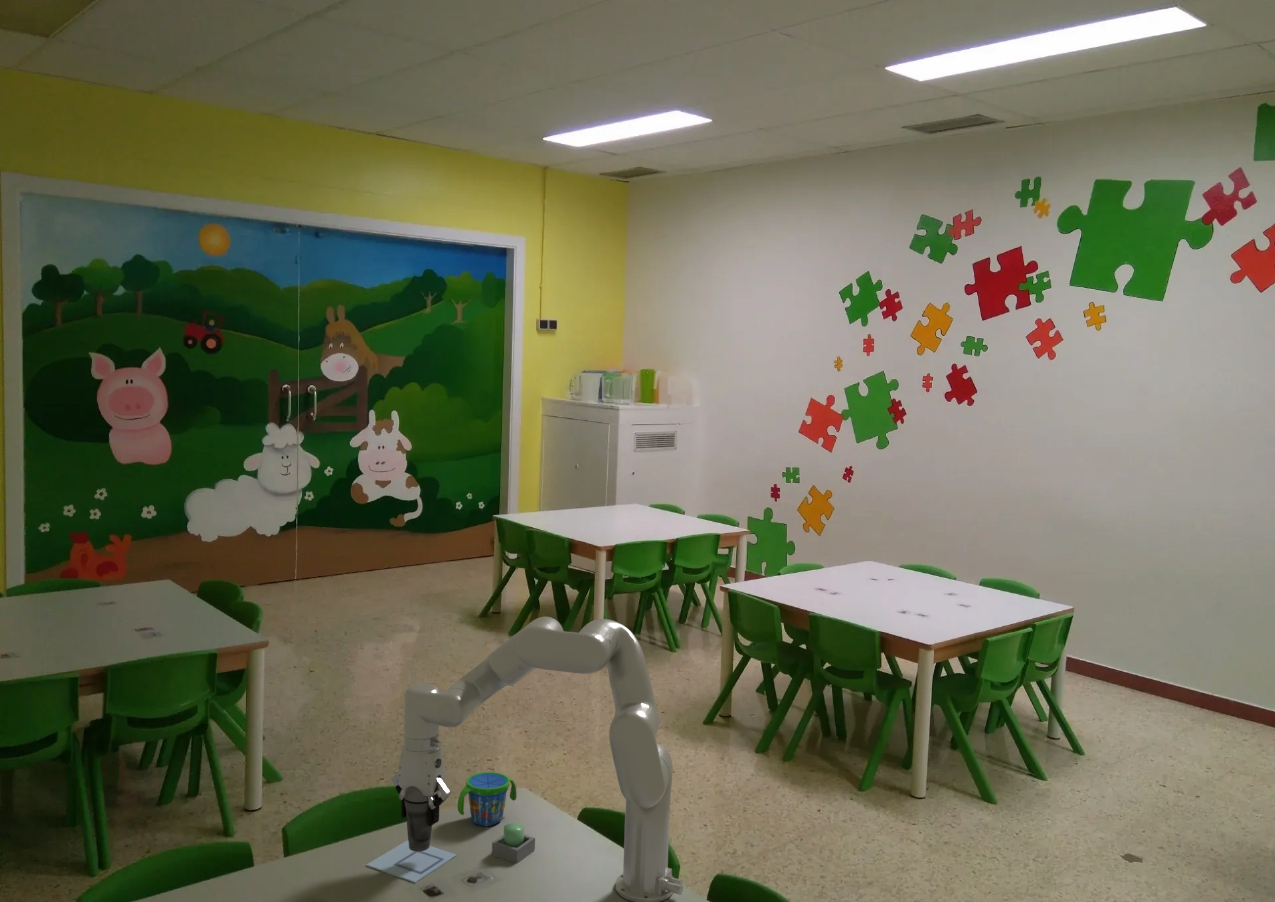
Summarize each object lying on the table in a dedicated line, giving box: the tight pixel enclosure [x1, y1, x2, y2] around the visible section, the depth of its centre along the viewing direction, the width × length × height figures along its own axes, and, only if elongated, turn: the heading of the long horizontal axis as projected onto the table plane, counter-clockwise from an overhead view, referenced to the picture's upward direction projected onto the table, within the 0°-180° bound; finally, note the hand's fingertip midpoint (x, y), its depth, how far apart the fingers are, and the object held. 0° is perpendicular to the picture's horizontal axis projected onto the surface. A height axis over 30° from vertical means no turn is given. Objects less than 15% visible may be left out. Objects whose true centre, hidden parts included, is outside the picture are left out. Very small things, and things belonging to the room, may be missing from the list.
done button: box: [503, 822, 525, 848], centre depth 225 cm, size 5×5×4 cm
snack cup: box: [456, 771, 518, 827], centre depth 240 cm, size 16×10×10 cm
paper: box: [365, 839, 458, 884], centre depth 220 cm, size 14×14×1 cm
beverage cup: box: [403, 786, 435, 852], centre depth 218 cm, size 7×7×20 cm
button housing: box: [491, 834, 536, 864], centre depth 225 cm, size 7×7×3 cm
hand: (419, 819), depth 218 cm, fingers closed on beverage cup, 6 cm apart
